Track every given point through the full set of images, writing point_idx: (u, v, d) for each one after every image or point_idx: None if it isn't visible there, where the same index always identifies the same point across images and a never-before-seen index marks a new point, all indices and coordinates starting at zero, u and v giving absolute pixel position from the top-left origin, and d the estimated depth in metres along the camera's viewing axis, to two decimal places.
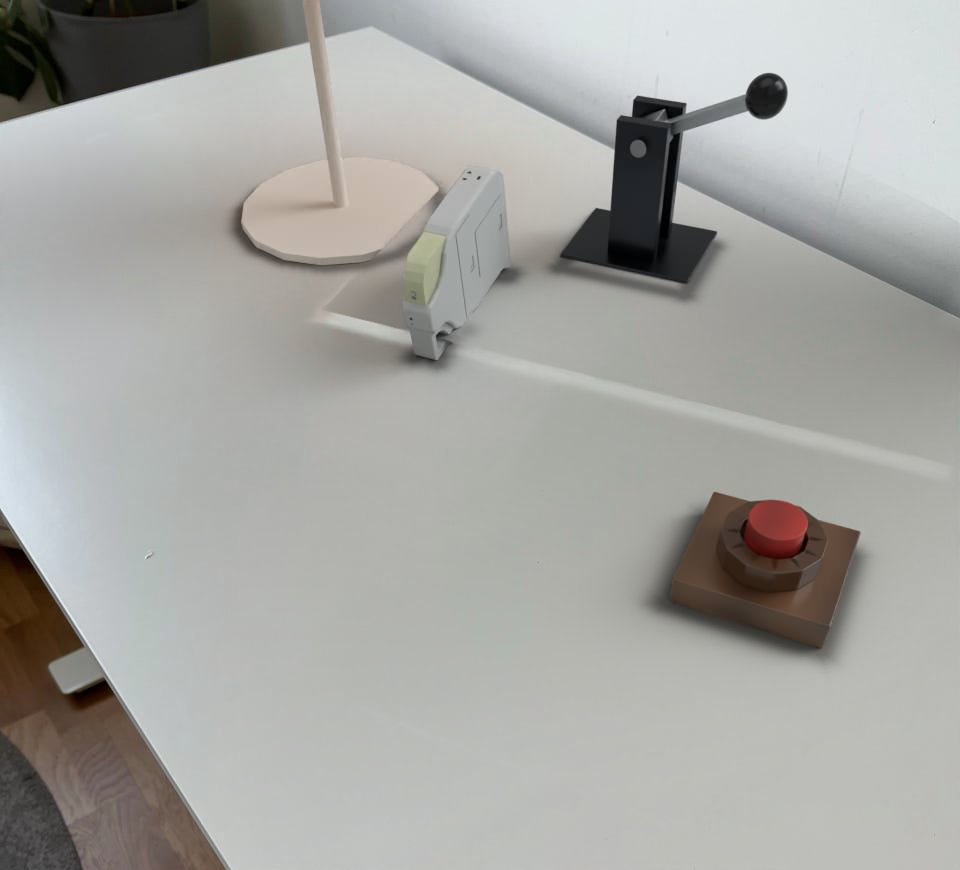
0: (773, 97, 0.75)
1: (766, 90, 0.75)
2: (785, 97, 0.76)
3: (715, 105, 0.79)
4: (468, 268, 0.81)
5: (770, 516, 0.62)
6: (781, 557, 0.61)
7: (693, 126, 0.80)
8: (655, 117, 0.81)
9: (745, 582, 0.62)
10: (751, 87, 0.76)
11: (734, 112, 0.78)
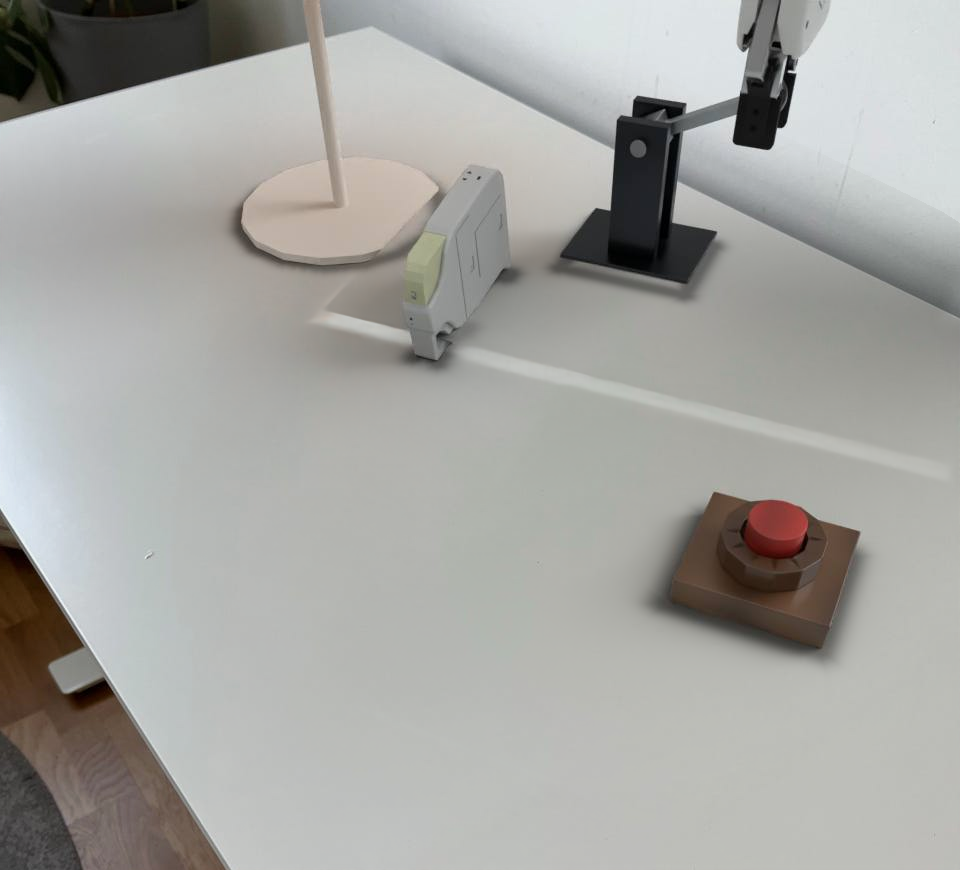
0: None
1: None
2: (785, 97, 0.76)
3: (715, 105, 0.79)
4: (468, 268, 0.81)
5: (770, 516, 0.62)
6: (781, 557, 0.61)
7: (693, 126, 0.80)
8: (655, 117, 0.81)
9: (745, 582, 0.62)
10: None
11: (734, 112, 0.78)
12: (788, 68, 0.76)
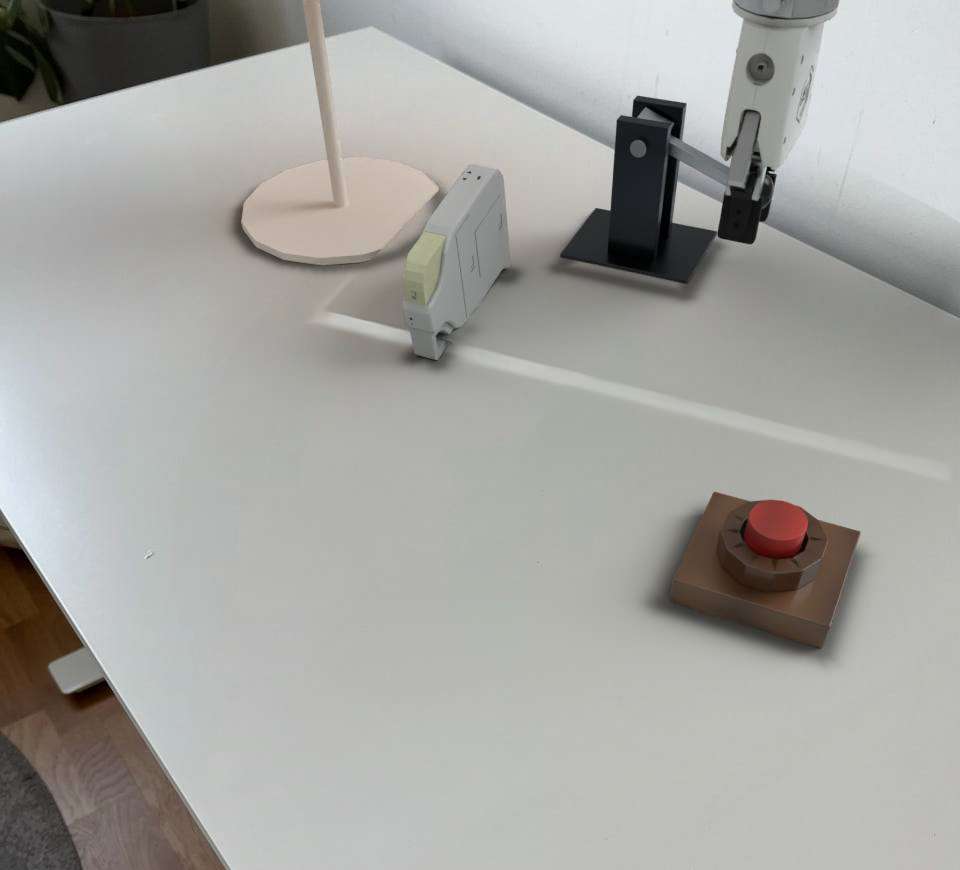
0: None
1: None
2: None
3: (714, 162, 0.82)
4: (468, 268, 0.81)
5: (770, 516, 0.62)
6: (781, 557, 0.61)
7: (687, 163, 0.82)
8: None
9: (745, 582, 0.62)
10: None
11: (724, 182, 0.82)
12: (769, 169, 0.83)
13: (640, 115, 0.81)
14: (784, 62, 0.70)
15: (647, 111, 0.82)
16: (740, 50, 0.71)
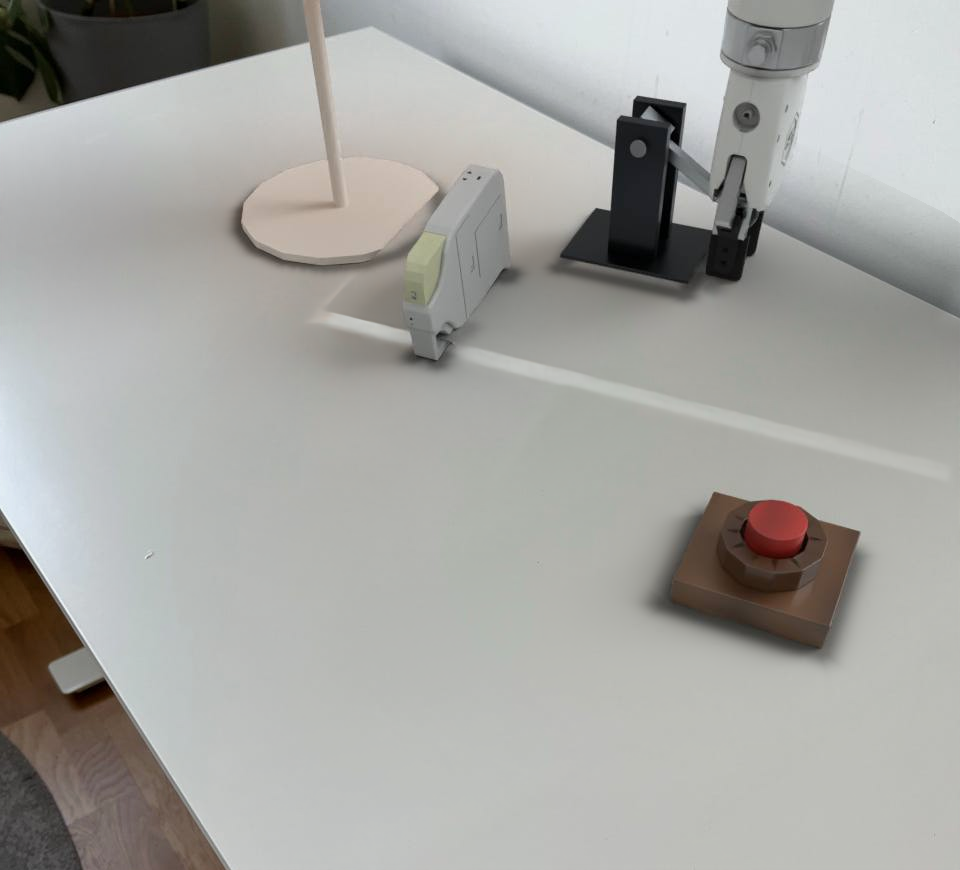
0: None
1: None
2: (749, 227, 0.84)
3: (707, 174, 0.83)
4: (468, 268, 0.81)
5: (770, 516, 0.62)
6: (781, 557, 0.61)
7: (681, 170, 0.83)
8: None
9: (745, 582, 0.62)
10: None
11: None
12: None
13: (644, 114, 0.81)
14: (769, 111, 0.73)
15: (650, 110, 0.82)
16: (727, 98, 0.74)
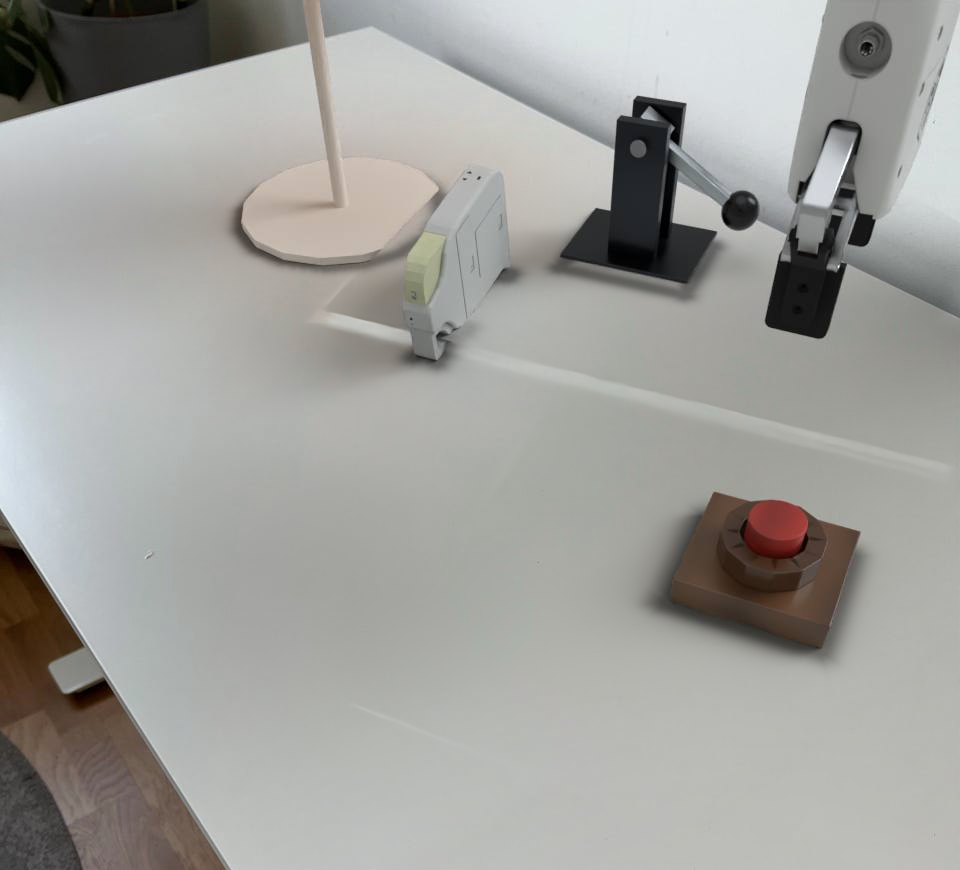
0: (746, 223, 0.83)
1: (747, 214, 0.83)
2: (749, 227, 0.84)
3: (707, 174, 0.83)
4: (468, 268, 0.81)
5: (770, 516, 0.62)
6: (781, 557, 0.61)
7: (681, 170, 0.83)
8: None
9: (745, 582, 0.62)
10: (740, 199, 0.82)
11: (714, 197, 0.84)
12: None
13: (644, 114, 0.81)
14: (911, 37, 0.40)
15: (650, 110, 0.82)
16: (831, 16, 0.41)
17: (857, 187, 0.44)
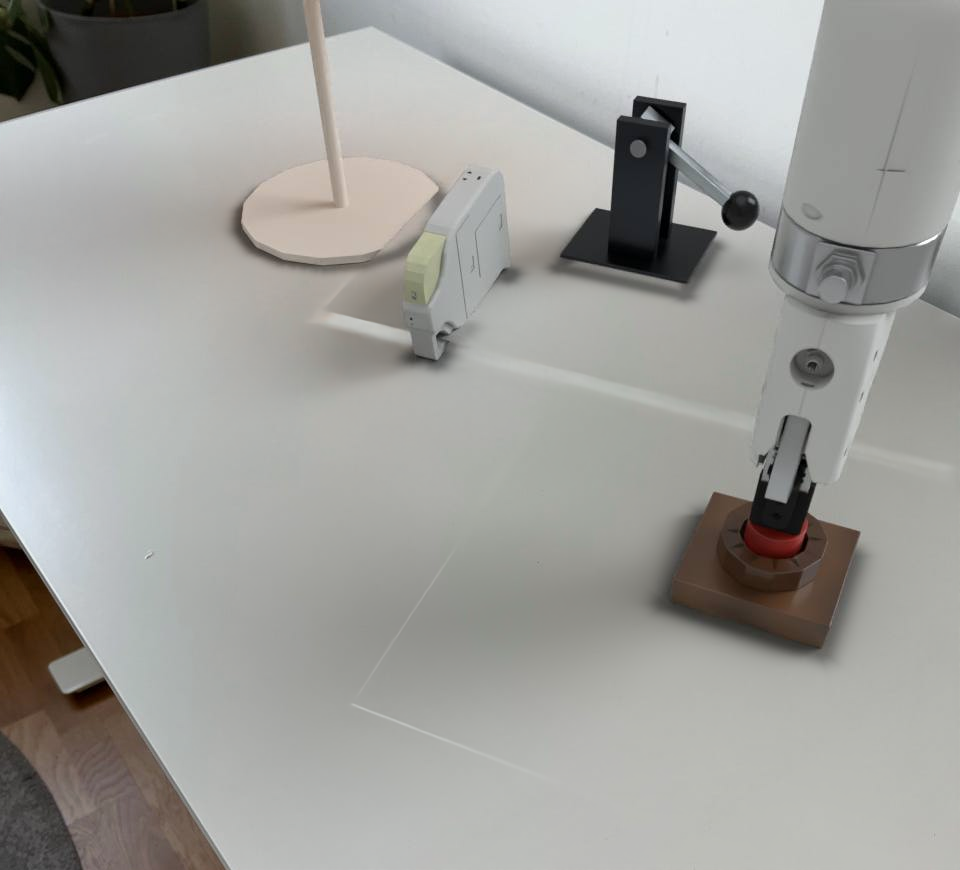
0: (746, 223, 0.83)
1: (747, 214, 0.83)
2: (749, 227, 0.84)
3: (707, 174, 0.83)
4: (468, 268, 0.81)
5: None
6: (781, 558, 0.61)
7: (681, 170, 0.83)
8: None
9: (745, 582, 0.62)
10: (740, 199, 0.82)
11: (714, 197, 0.84)
12: None
13: (644, 114, 0.81)
14: (850, 363, 0.47)
15: (650, 110, 0.82)
16: (782, 339, 0.48)
17: None
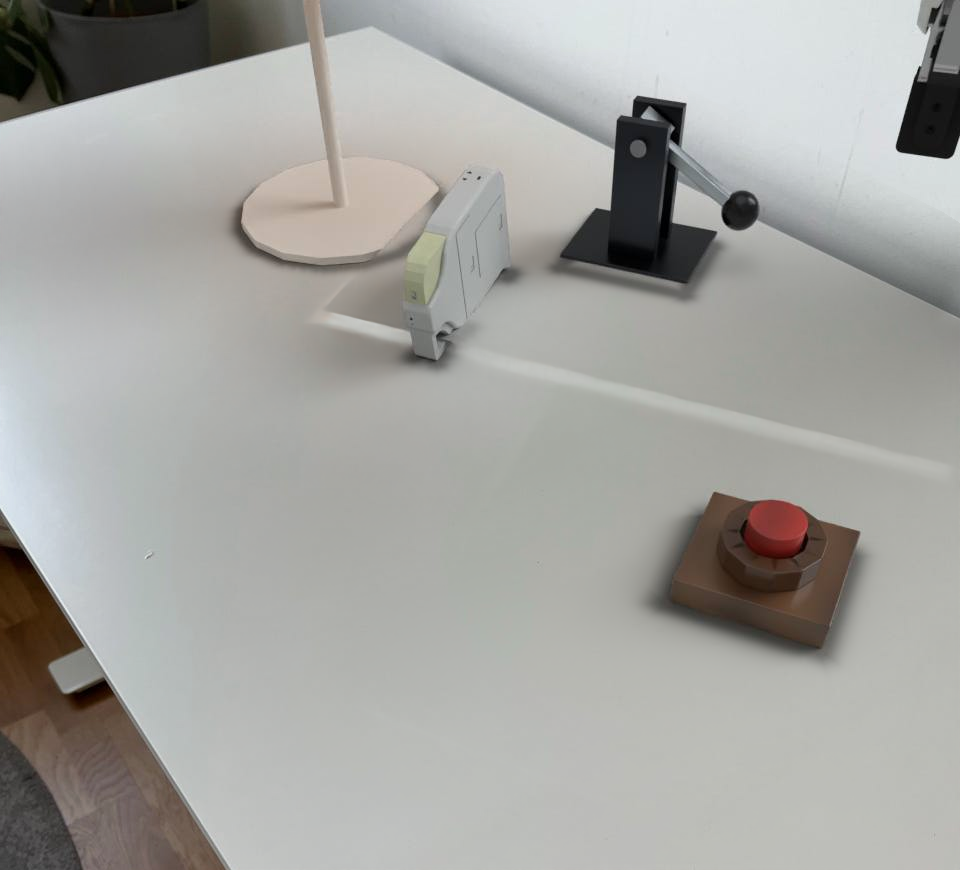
0: (746, 223, 0.83)
1: (747, 214, 0.83)
2: (749, 227, 0.84)
3: (707, 174, 0.83)
4: (468, 268, 0.81)
5: (770, 516, 0.62)
6: (781, 557, 0.61)
7: (681, 170, 0.83)
8: None
9: (745, 582, 0.62)
10: (740, 199, 0.82)
11: (714, 197, 0.84)
12: None
13: (644, 114, 0.81)
14: None
15: (650, 110, 0.82)
16: None
17: None
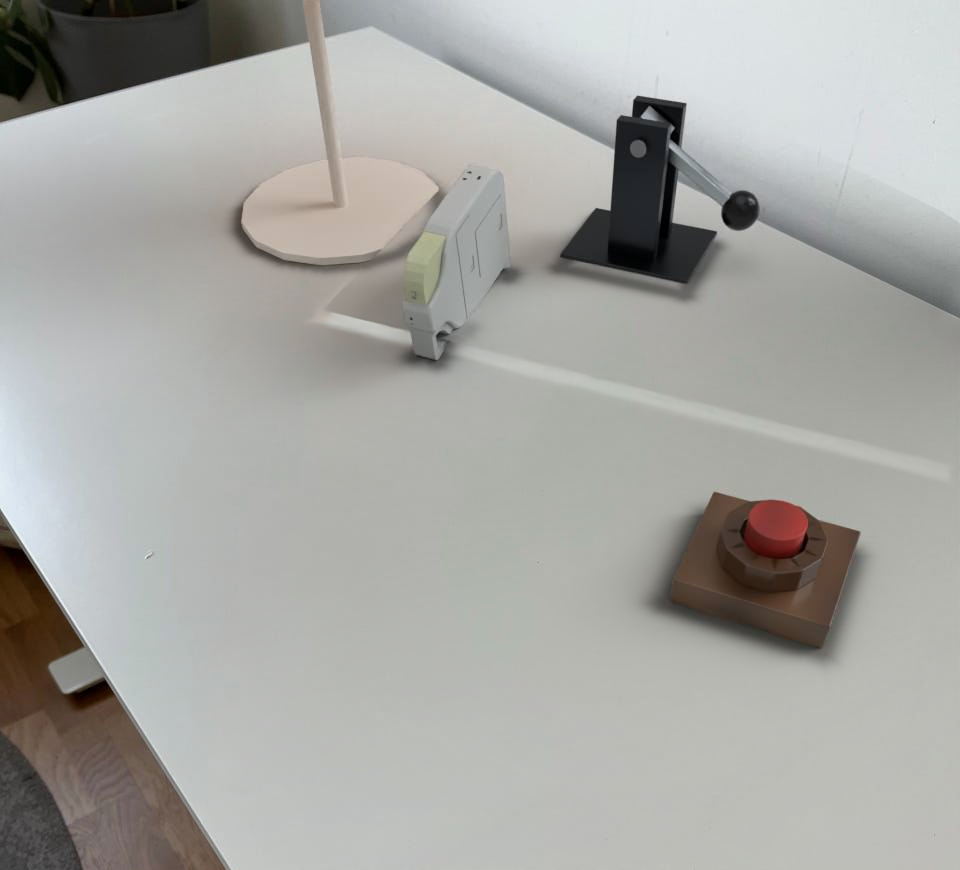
0: (746, 223, 0.83)
1: (747, 214, 0.83)
2: (749, 227, 0.84)
3: (707, 174, 0.83)
4: (468, 268, 0.81)
5: (770, 516, 0.62)
6: (781, 557, 0.61)
7: (681, 170, 0.83)
8: None
9: (745, 582, 0.62)
10: (740, 199, 0.82)
11: (714, 197, 0.84)
12: None
13: (644, 114, 0.81)
14: None
15: (650, 110, 0.82)
16: None
17: None
